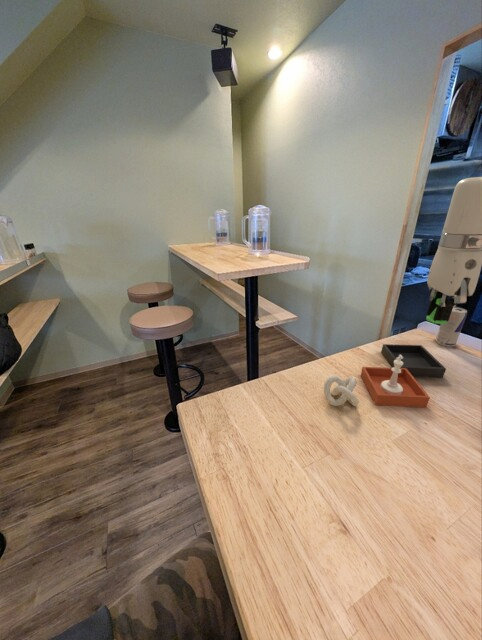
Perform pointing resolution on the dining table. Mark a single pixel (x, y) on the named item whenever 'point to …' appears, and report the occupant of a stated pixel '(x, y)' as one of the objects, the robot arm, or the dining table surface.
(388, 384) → the chess piece
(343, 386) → the knot
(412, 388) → the terracotta bin
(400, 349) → the charcoal bin
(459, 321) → the energy drink
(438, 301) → the game piece
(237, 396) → the dining table surface
